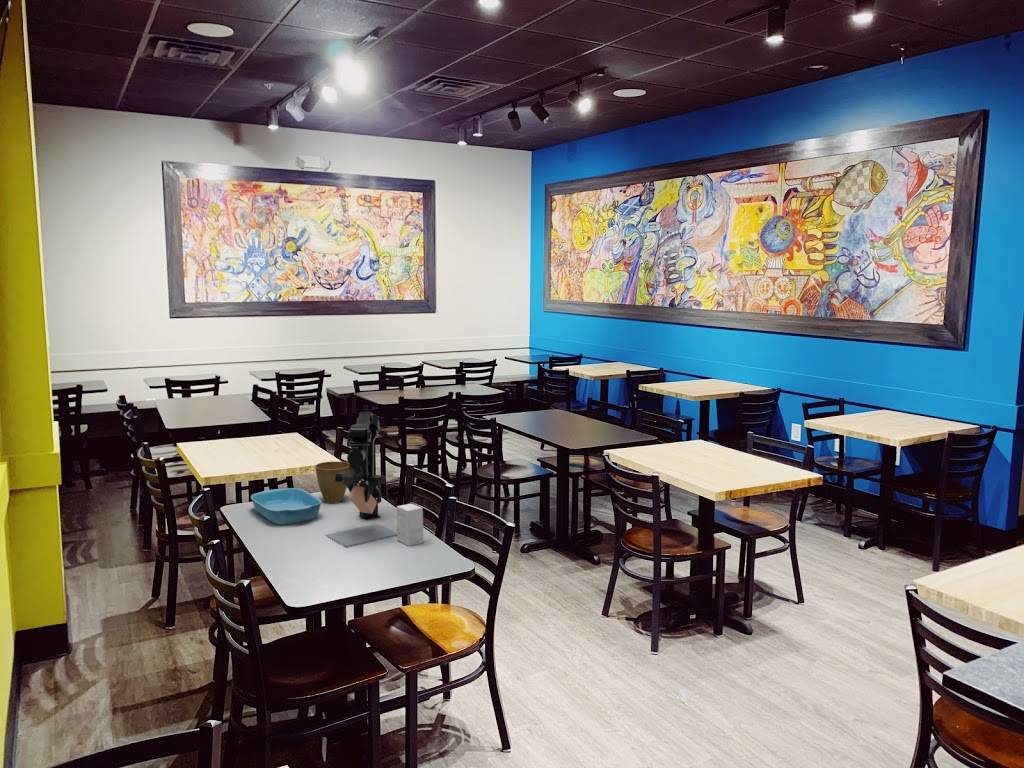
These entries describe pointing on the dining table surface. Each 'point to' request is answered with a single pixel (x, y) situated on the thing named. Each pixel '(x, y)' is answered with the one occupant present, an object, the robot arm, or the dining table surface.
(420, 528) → the small box
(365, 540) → the mat
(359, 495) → the block
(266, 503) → the casserole dish
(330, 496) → the plant pot
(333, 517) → the dining table surface
